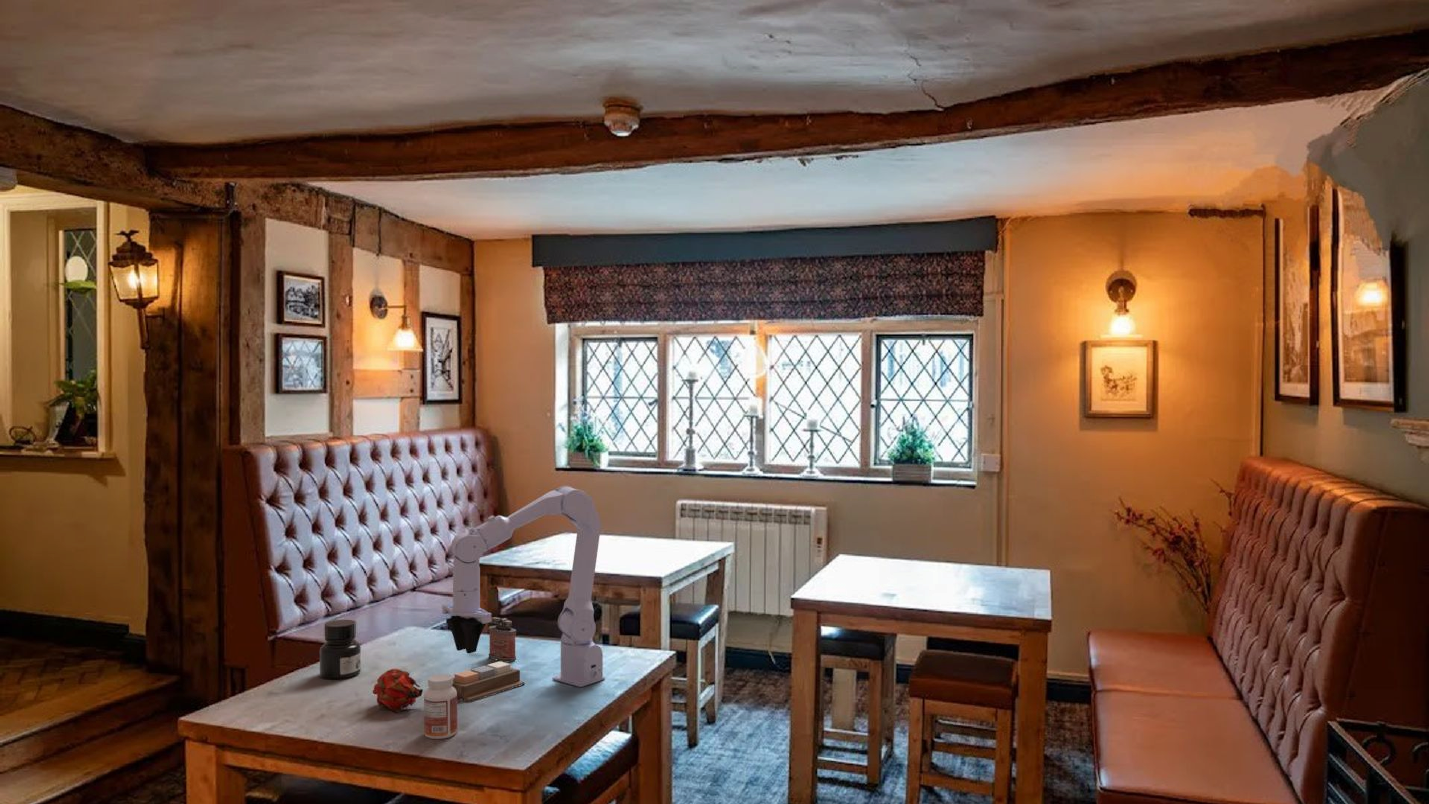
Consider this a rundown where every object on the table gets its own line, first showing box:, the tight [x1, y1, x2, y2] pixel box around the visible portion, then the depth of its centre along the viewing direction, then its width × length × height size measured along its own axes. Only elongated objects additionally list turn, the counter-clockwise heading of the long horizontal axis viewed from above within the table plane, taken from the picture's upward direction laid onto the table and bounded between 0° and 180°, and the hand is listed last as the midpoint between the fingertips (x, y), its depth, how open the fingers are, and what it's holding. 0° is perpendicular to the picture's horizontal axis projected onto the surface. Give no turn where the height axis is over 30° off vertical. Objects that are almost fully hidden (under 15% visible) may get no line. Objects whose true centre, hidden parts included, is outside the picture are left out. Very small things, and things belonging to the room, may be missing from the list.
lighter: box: [488, 616, 517, 662], centre depth 241 cm, size 8×3×10 cm, turn 58°
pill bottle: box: [423, 673, 458, 740], centre depth 190 cm, size 6×6×11 cm
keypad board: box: [452, 667, 525, 703], centre depth 218 cm, size 10×15×3 cm, turn 142°
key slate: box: [470, 665, 495, 681], centre depth 218 cm, size 4×4×2 cm
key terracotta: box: [453, 669, 478, 685], centre depth 214 cm, size 4×4×2 cm
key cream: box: [486, 661, 511, 676], centre depth 221 cm, size 4×4×2 cm
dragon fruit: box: [372, 668, 424, 712], centre depth 205 cm, size 8×8×12 cm
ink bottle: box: [319, 619, 362, 680], centre depth 228 cm, size 10×9×12 cm
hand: (466, 651), depth 214 cm, fingers open, 3 cm apart
